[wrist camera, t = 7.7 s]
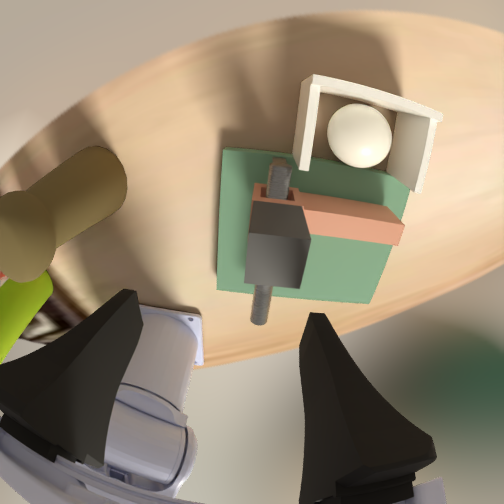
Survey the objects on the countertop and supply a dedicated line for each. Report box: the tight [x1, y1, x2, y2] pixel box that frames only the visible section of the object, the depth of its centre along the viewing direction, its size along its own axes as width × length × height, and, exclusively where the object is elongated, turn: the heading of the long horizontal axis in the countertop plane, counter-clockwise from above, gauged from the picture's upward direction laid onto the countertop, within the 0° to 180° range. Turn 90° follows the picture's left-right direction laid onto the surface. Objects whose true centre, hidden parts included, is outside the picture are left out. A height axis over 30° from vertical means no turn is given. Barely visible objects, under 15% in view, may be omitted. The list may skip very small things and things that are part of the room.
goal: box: [292, 74, 443, 194], centre depth 14 cm, size 7×5×5 cm
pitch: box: [217, 147, 410, 304], centre depth 20 cm, size 13×11×1 cm
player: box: [244, 183, 405, 289], centre depth 14 cm, size 9×2×7 cm, turn 85°
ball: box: [327, 104, 392, 168], centre depth 14 cm, size 4×4×4 cm
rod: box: [250, 156, 292, 325], centre depth 18 cm, size 1×11×3 cm, turn 175°
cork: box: [0, 146, 127, 283], centre depth 14 cm, size 6×6×11 cm
